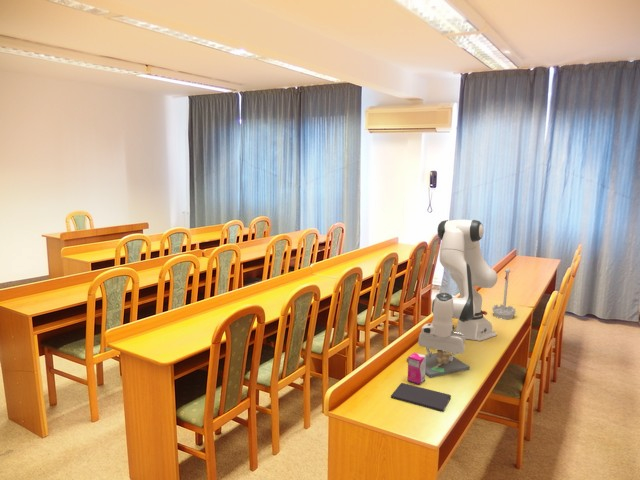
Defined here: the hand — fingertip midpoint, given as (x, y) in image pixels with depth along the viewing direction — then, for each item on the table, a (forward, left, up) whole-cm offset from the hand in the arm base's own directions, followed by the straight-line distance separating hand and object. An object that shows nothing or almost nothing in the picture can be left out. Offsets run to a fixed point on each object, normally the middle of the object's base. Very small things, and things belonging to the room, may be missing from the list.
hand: (440, 358), depth 217 cm
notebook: (+22, +17, -6) cm, 29 cm away
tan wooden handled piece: (-2, -2, -4) cm, 5 cm away
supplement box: (+16, +4, -6) cm, 17 cm away
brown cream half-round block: (-19, -24, -6) cm, 31 cm away
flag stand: (-82, -46, -6) cm, 94 cm away
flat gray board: (-2, -5, -6) cm, 8 cm away
